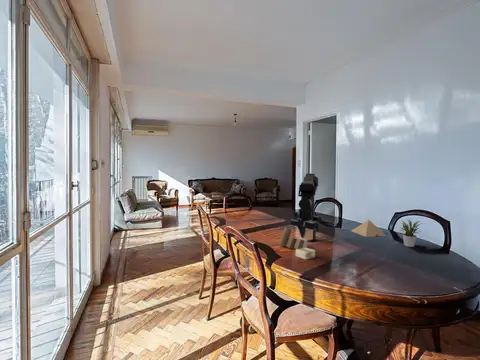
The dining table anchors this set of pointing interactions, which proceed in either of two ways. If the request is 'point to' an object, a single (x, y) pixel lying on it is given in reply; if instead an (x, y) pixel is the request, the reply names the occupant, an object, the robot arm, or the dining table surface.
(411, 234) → the house plant
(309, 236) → the terracotta cube
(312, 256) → the maple base
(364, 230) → the model pyramid
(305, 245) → the sage cube
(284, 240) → the wooden block set
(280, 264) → the dining table surface
